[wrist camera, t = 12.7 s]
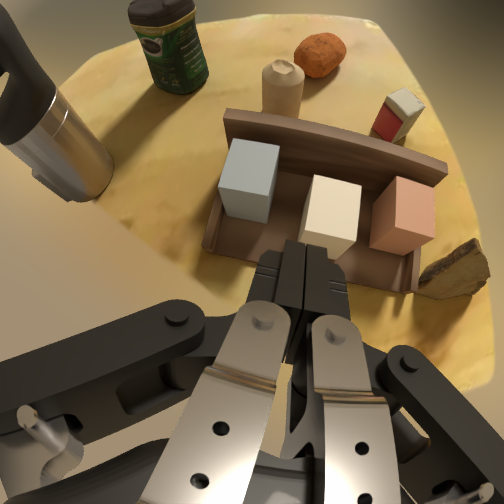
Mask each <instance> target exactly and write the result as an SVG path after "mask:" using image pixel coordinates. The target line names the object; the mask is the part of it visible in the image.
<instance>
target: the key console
mask: <svg viewBox="0 0 504 504" xmlns="http://www.w3.org/2000/svg"><path fill="white" fill-rule="evenodd" d="M223 121H224V127H225V132H226V138H227V143H228V148H229V150H230V147H231V144H232V141H233V138H235V139H242V140H248V141H254V142H260V143H266V144H272V145H277V146H280V149H279V160H278V172H277V182H276V186H275V191H274V195H273V199H272V204H271V208H270V213H269V217H268V222H267V224H265V223H260V222H255V221H251V220H246V219H241V218H236V217H231V216H227V214H226V211H225V208H224V205H223V202H222V198H221V195H220V192H219V189H218V190H217V193H216V197H215V200H214V203H213V207H212V210H211V213H210V217H209V220H208V224H207V227H206V231H205V234H204V238H203V241H202V247H203V248H204V249H205V251H206V252H210V253H214V254H219V255H223V256H228V257H232V258H237V259H241V260H246V261H251V262H255V263H258V262H259V258H260V256H261V255H262V254H263V253H264V252H266V251H267V250H268V249H269V250H274V251H279V252H283V249H284V245H285V240H286V239H288V240H293V241H297V240H298V235H299V230H300V225H301V219H302V214H303V208H304V204H305V201H306V198H307V195H308V192H309V189H310V186H311V183H312V180H313V177H314V174H315V175H319V176H324V177H328V178H332V179H336V180H340V181H344V182H348V183H352V184H356V185H360V186H362V187H361V199H360V209H359V219H358V228H357V237H356V242H355V243H354V244H353V245H352V246H350V247H349V248H348V249H347V250H346V251H345V252H344V253H343V254H342V255H341V256H340V257H339V258H337V259H336V260H334V259H329V258H328V262H330V263H334V264H338V265H339V266H340V268H341V269H342V270H343V272H344V273H345V278H346V282H349V283H354V284H358V285H363V286H368V287H373V288H378V289H383V290H387V291H392V292H397V293H402V294H410V293H414V292H417V290H418V281H419V270H420V256H421V246H420V247H418V248H416V249H415V250H413V251H411V252H409V253H407V254H406V255H404V256H402V255H398V254H394V253H390V252H385V251H381V250H377V249H373V248H369V241H370V231H371V221H372V208H373V203H374V202H375V201H376V200H377V199H378V198H379V196H380V195H381V194H382V193H383V192H384V190H385V189H386V188H387V187H388V186H389V184H390V183H391V182H392V181H393V180H394V178H395V177H396V176H399V177H402V178H405V179H408V180H411V181H414V182H417V183H420V184H423V185H426V186H429V187H432V188H434V187H435V186H436V185H437V184H438V183H439V182H440V181H441V180H442V179H443V178H444V177H446V176H447V175H448V167H447V163H445V162H443V161H440V160H438V159H435V158H432V157H430V156H427V155H425V154H422V153H419V152H416V151H414V150H411V149H408V148H405V147H402V146H399V145H396V144H393V143H390V142H386V141H383V140H380V139H377V138H373V137H370V136H366V135H363V134H359V133H356V132H352V131H348V130H344V129H340V128H336V127H332V126H328V125H324V124H319V123H315V122H310V121H305V120H300V119H295V118H290V117H285V116H279V115H273V114H267V113H260V112H254V111H246V110H239V109H230V108H226V111H225V114H224V116H223Z"/></svg>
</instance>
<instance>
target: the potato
mask: <svg viewBox="0 0 504 504" xmlns="http://www.w3.org/2000/svg"><path fill="white" fill-rule="evenodd" d="M345 55H346V47H345V45H344V43H343V42H342V40H341V39H340V38H339V37H337V36H336V35H334V34H331V33H321V34H316V35H311V36H309V37H308V38H306V39H305V40H303V41H302V42H301V43H300V45H299V46H298V47H297V49H296V51H295V53H294V63H295V64H296V65H297V66H299V67H300V68H301V69H302V70H303V71H304V74H306V75H308V76H310V77H313V78H318V77H324V76H326V75H327V74H329V73H330V72H331V71H332V70H333V69H334V68H335V67H336V66H337V65H339V64H340V63H341V62H342V60H343V59H344V57H345Z"/></svg>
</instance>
